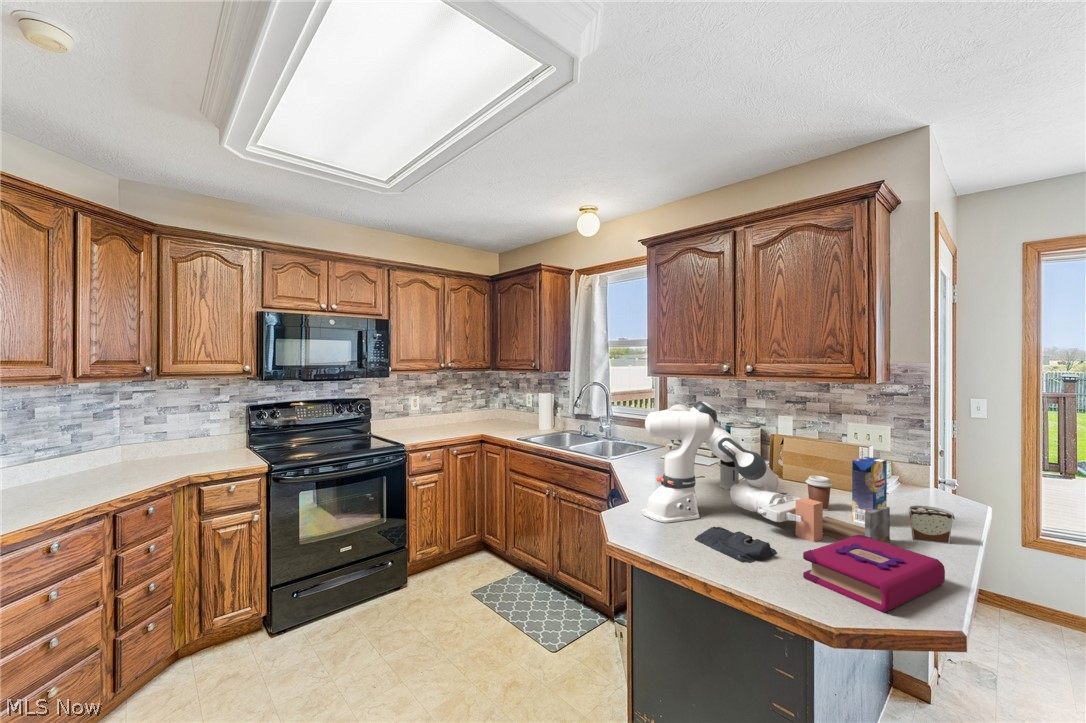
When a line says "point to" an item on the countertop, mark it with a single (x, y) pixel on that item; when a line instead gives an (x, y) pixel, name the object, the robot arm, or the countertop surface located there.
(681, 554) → the countertop surface
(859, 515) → the beverage box
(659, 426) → the robot arm
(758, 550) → the folded black shirt
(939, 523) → the food container
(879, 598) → the book
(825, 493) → the coffee cup
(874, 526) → the walnut shelf
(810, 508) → the salmon pink brick
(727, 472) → the glass holder
